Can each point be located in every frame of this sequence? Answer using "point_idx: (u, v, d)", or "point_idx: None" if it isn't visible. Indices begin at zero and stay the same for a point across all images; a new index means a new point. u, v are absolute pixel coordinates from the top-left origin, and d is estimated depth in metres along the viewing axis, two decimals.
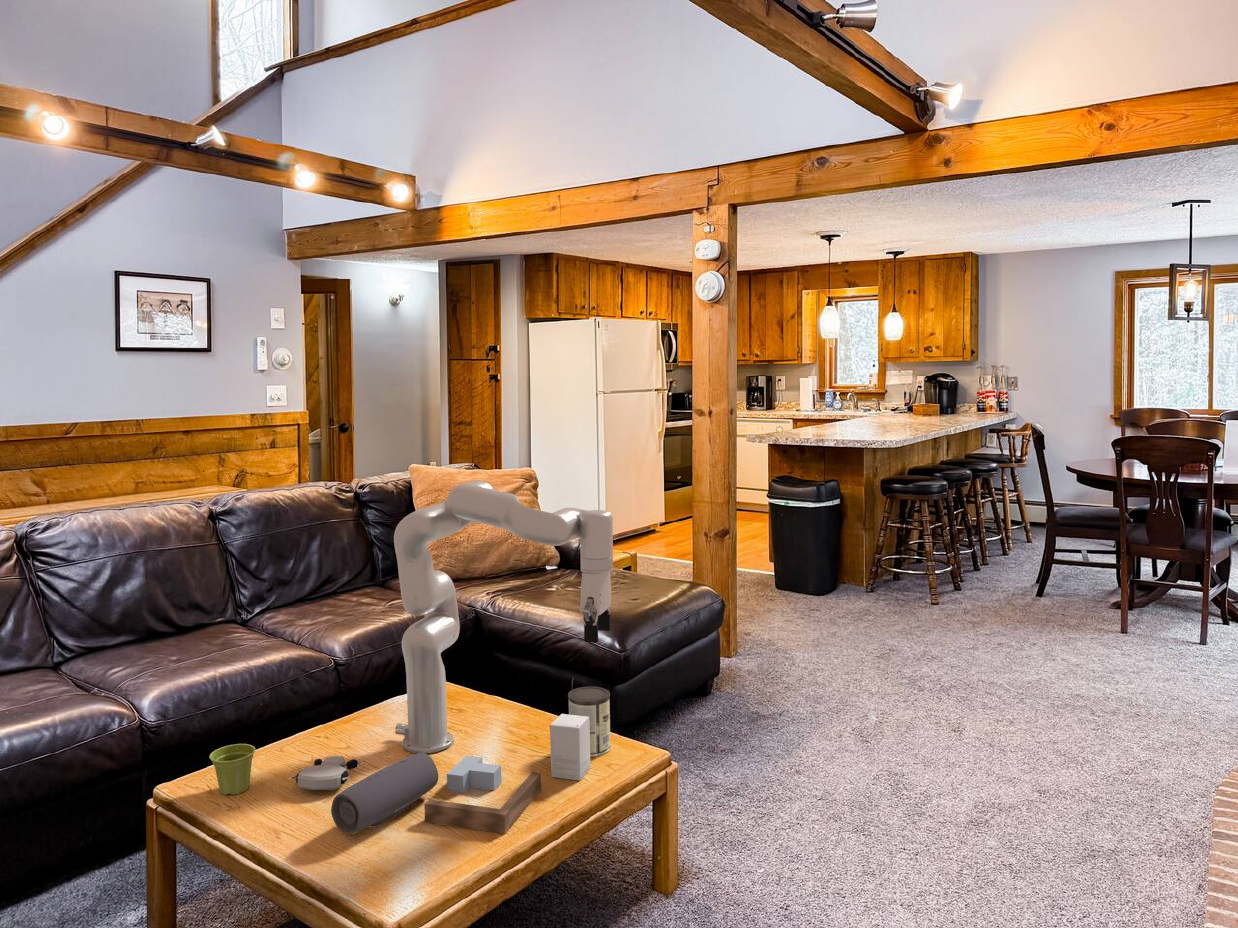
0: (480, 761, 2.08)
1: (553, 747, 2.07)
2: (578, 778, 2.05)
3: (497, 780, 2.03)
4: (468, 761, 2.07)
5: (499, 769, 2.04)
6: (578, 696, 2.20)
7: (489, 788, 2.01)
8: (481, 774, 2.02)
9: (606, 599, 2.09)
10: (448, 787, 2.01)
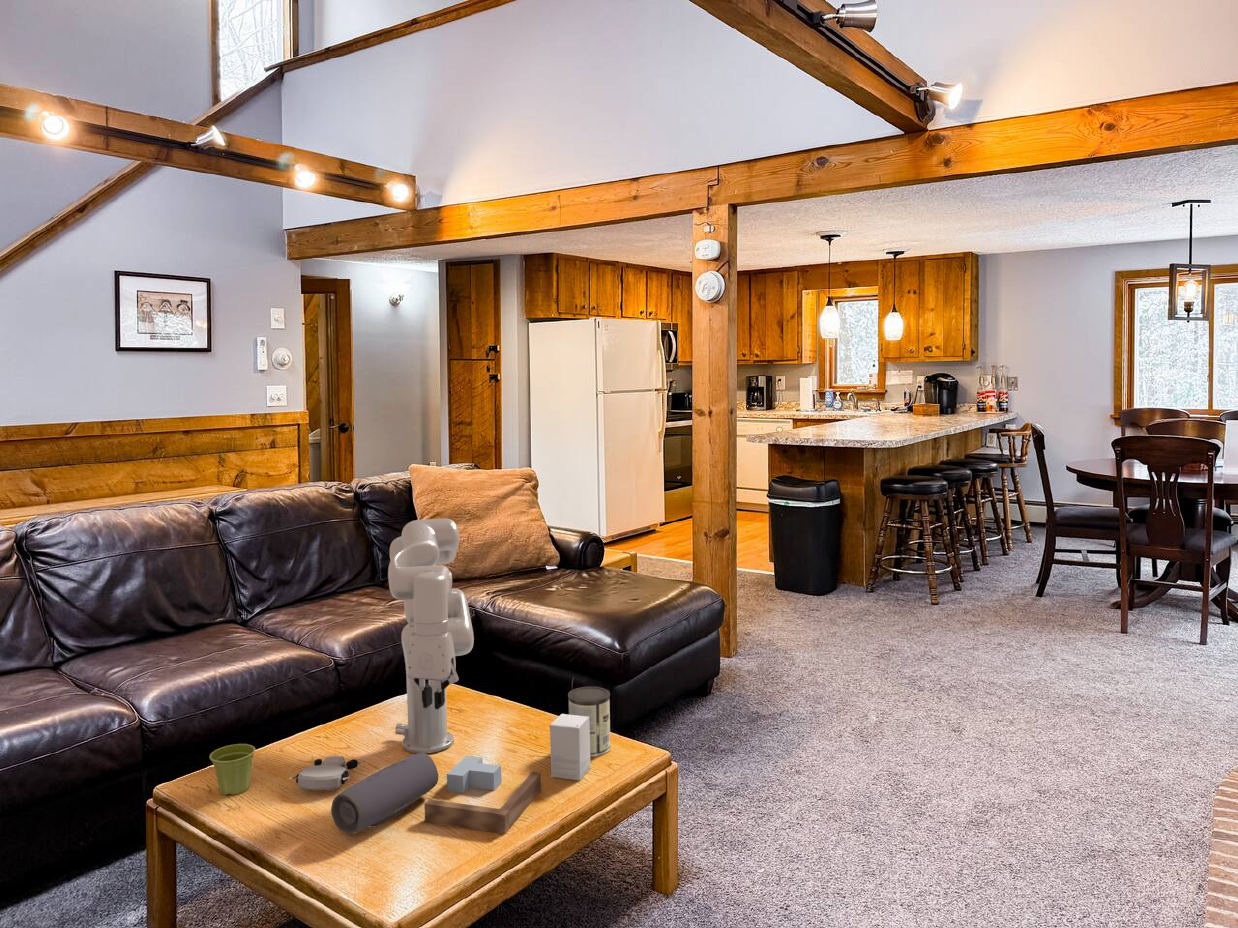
0: (480, 761, 2.08)
1: (553, 747, 2.07)
2: (578, 778, 2.05)
3: (497, 780, 2.03)
4: (468, 761, 2.07)
5: (499, 769, 2.04)
6: (578, 696, 2.20)
7: (489, 788, 2.01)
8: (481, 774, 2.02)
9: None
10: (448, 787, 2.01)
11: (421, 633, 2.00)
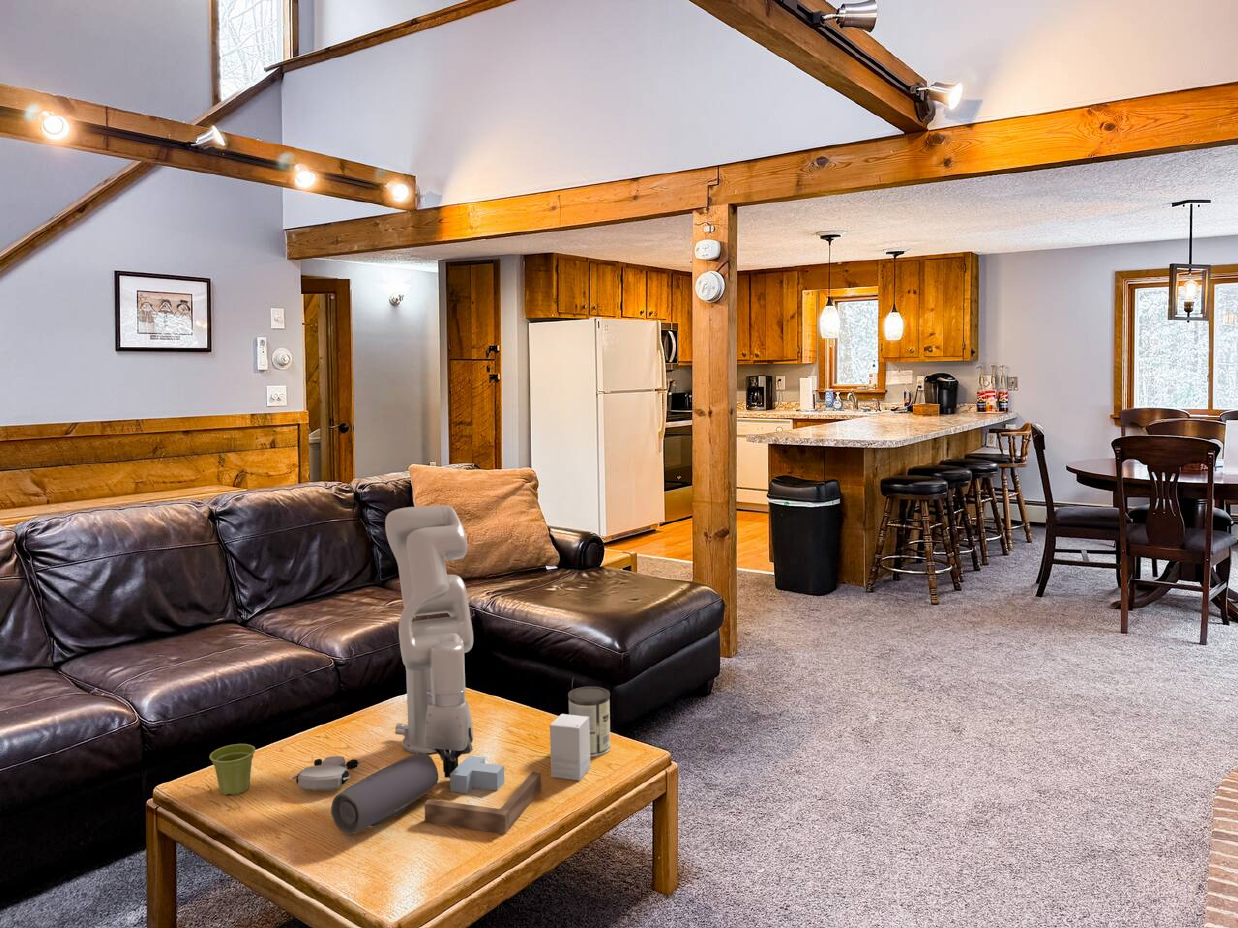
0: (482, 761, 2.08)
1: (553, 747, 2.07)
2: (578, 778, 2.05)
3: (500, 781, 2.03)
4: (470, 761, 2.07)
5: (502, 769, 2.04)
6: (578, 696, 2.20)
7: (492, 788, 2.01)
8: (484, 774, 2.02)
9: None
10: (451, 787, 2.01)
11: (438, 704, 2.01)
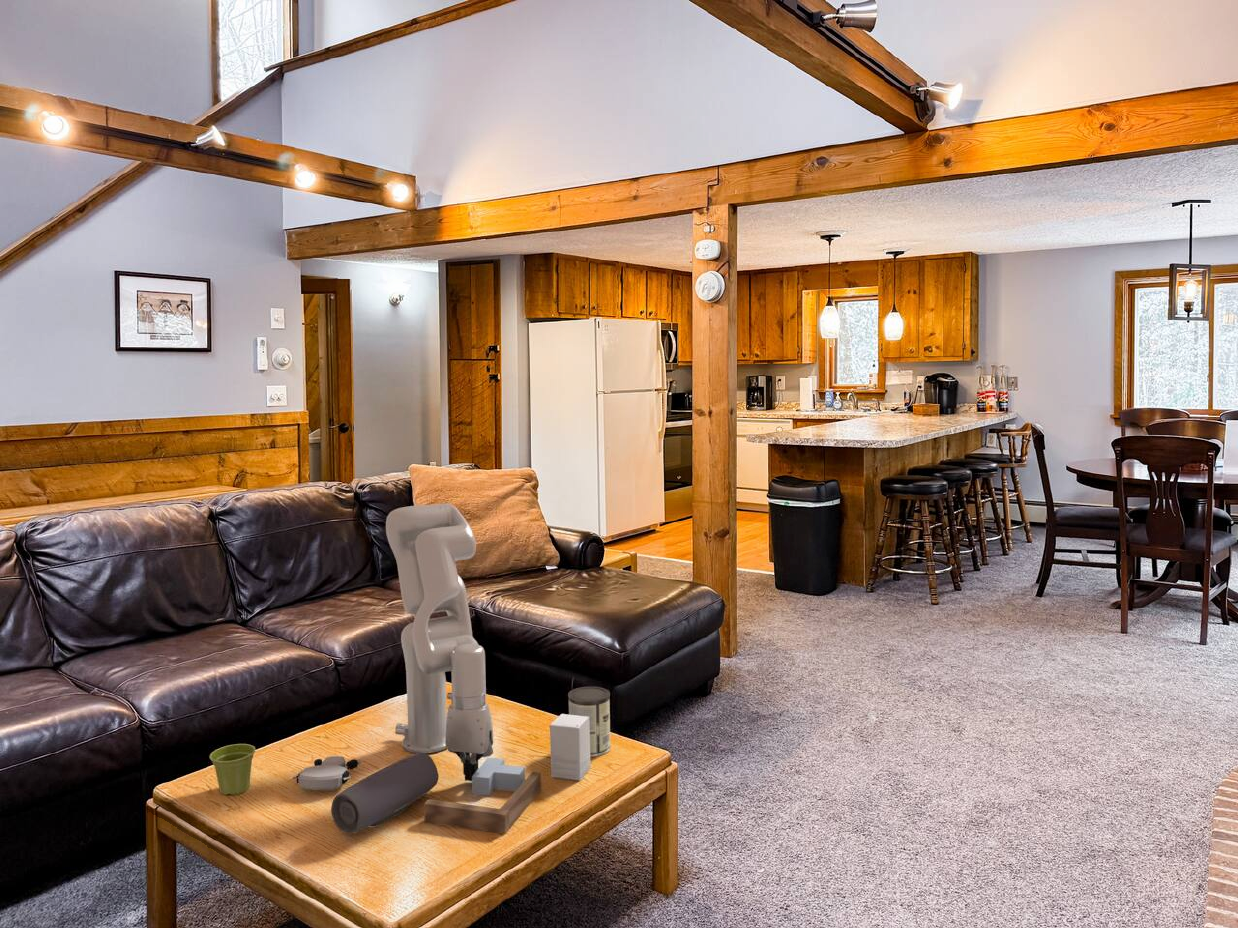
0: (502, 763, 2.07)
1: (553, 747, 2.07)
2: (578, 778, 2.05)
3: (522, 782, 2.02)
4: (490, 763, 2.05)
5: (524, 770, 2.03)
6: (578, 696, 2.20)
7: (514, 790, 2.01)
8: (506, 776, 2.01)
9: None
10: (473, 790, 1.99)
11: (459, 707, 2.00)
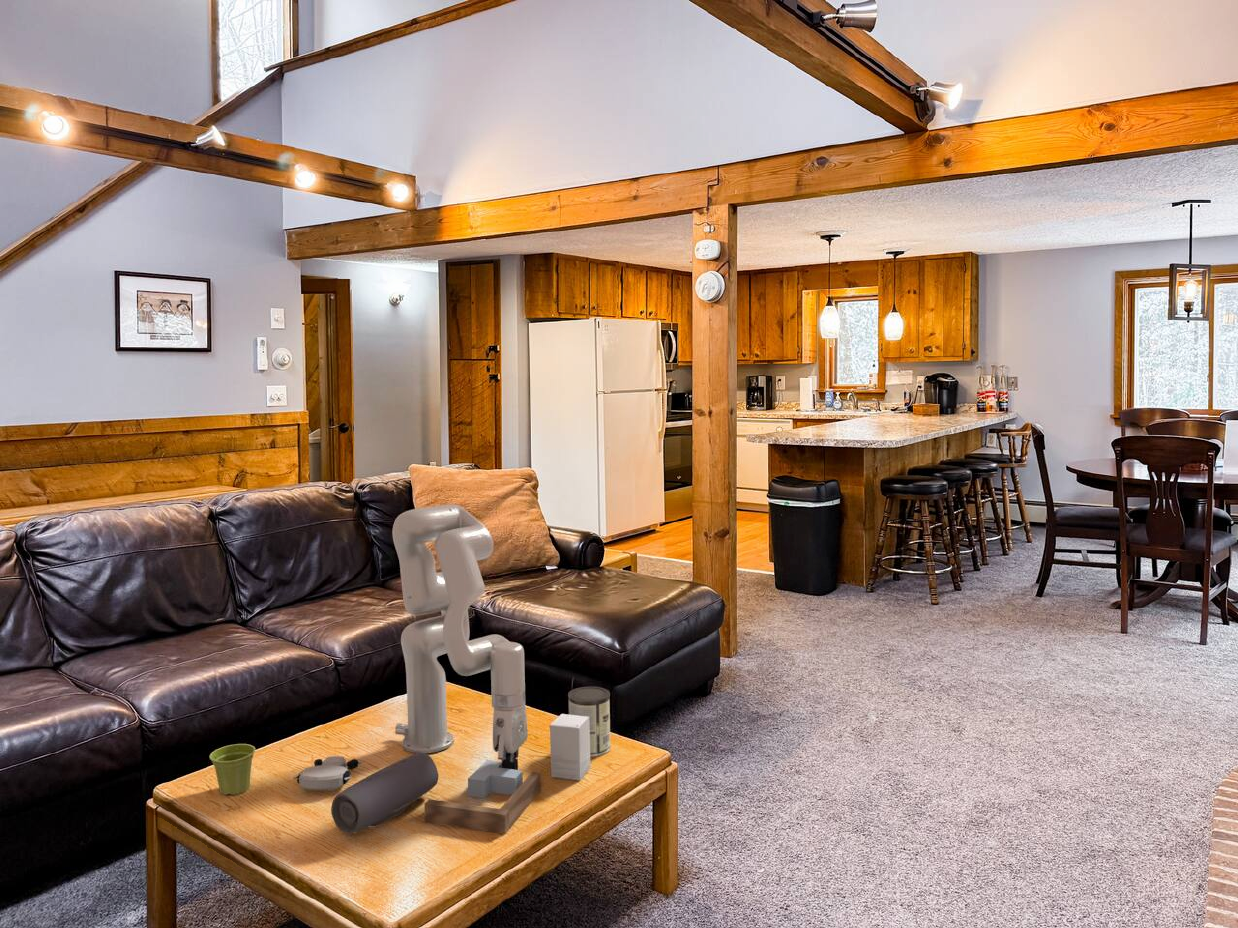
0: (501, 766, 2.06)
1: (553, 747, 2.07)
2: (578, 778, 2.05)
3: (518, 786, 2.00)
4: (489, 766, 2.04)
5: (520, 774, 2.01)
6: (578, 696, 2.20)
7: (510, 793, 1.99)
8: (502, 779, 1.99)
9: None
10: (469, 792, 1.98)
11: (523, 701, 2.02)
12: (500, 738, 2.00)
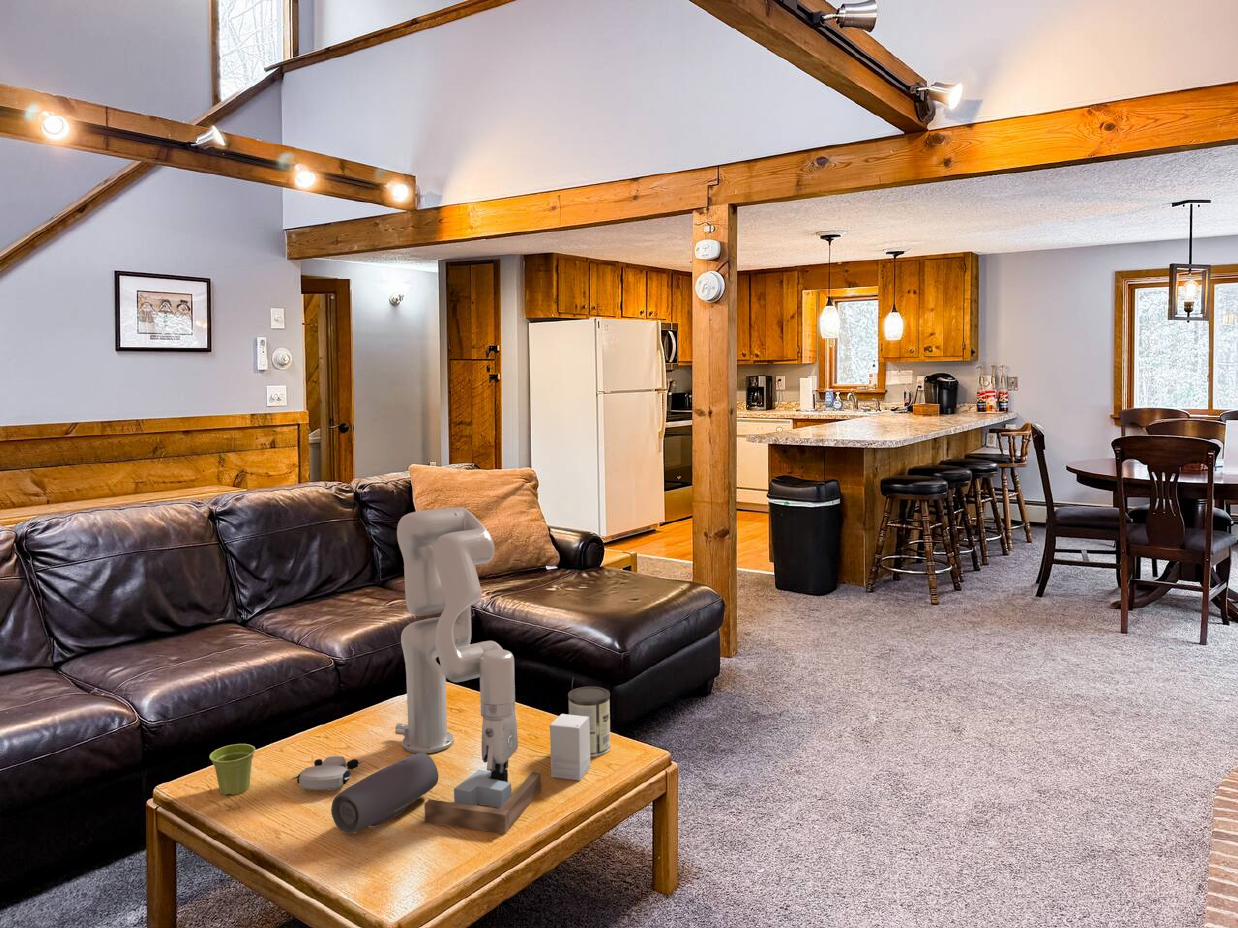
0: None
1: (553, 747, 2.07)
2: (578, 778, 2.05)
3: (506, 798, 1.94)
4: (478, 776, 1.99)
5: (509, 787, 1.95)
6: (578, 696, 2.20)
7: (497, 806, 1.93)
8: (489, 791, 1.94)
9: None
10: (455, 802, 1.94)
11: (512, 710, 1.97)
12: (489, 748, 1.95)
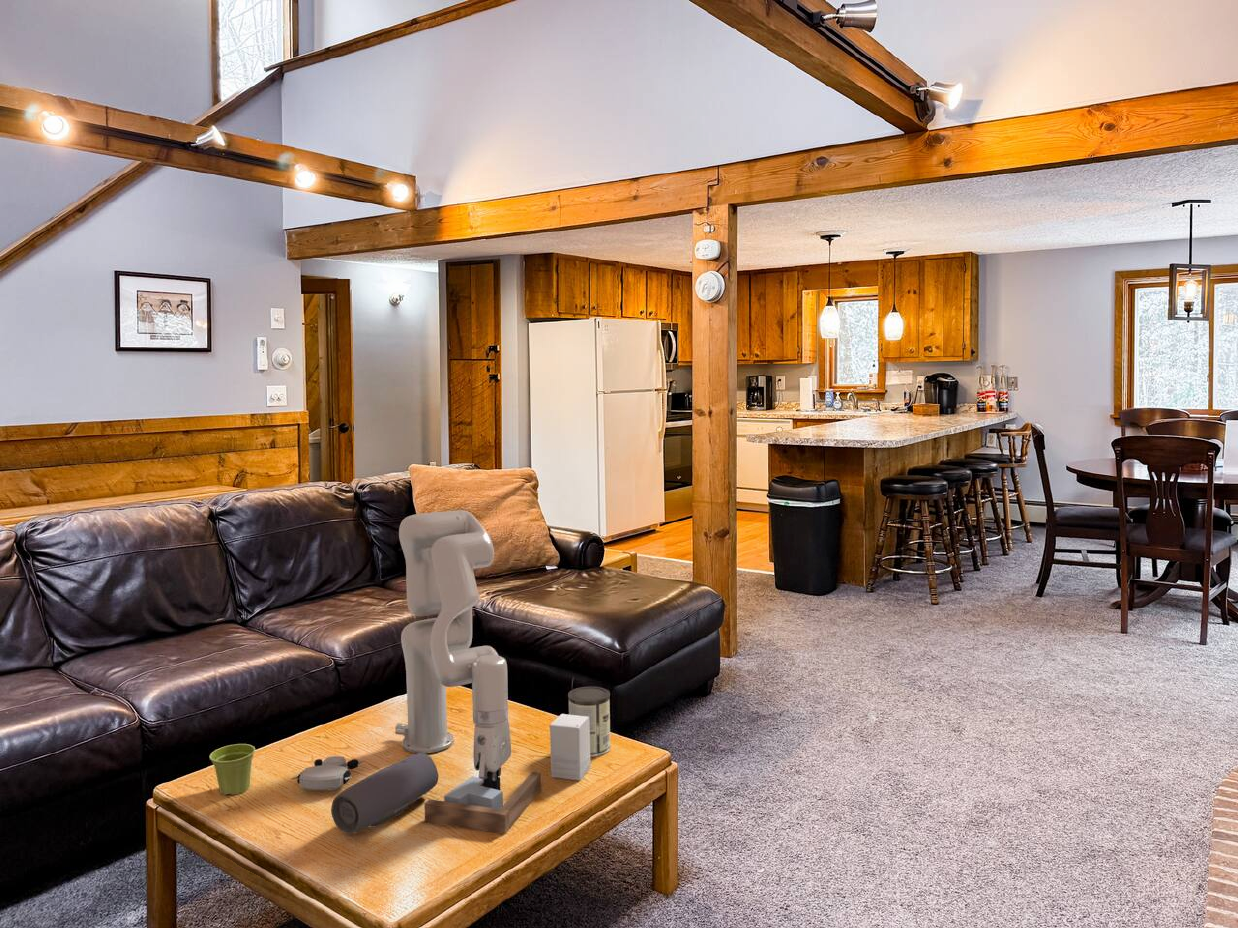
0: None
1: (553, 747, 2.07)
2: (578, 778, 2.05)
3: (496, 807, 1.90)
4: (471, 783, 1.96)
5: (500, 795, 1.91)
6: (578, 696, 2.20)
7: None
8: (479, 799, 1.90)
9: None
10: None
11: (505, 717, 1.93)
12: (481, 756, 1.91)
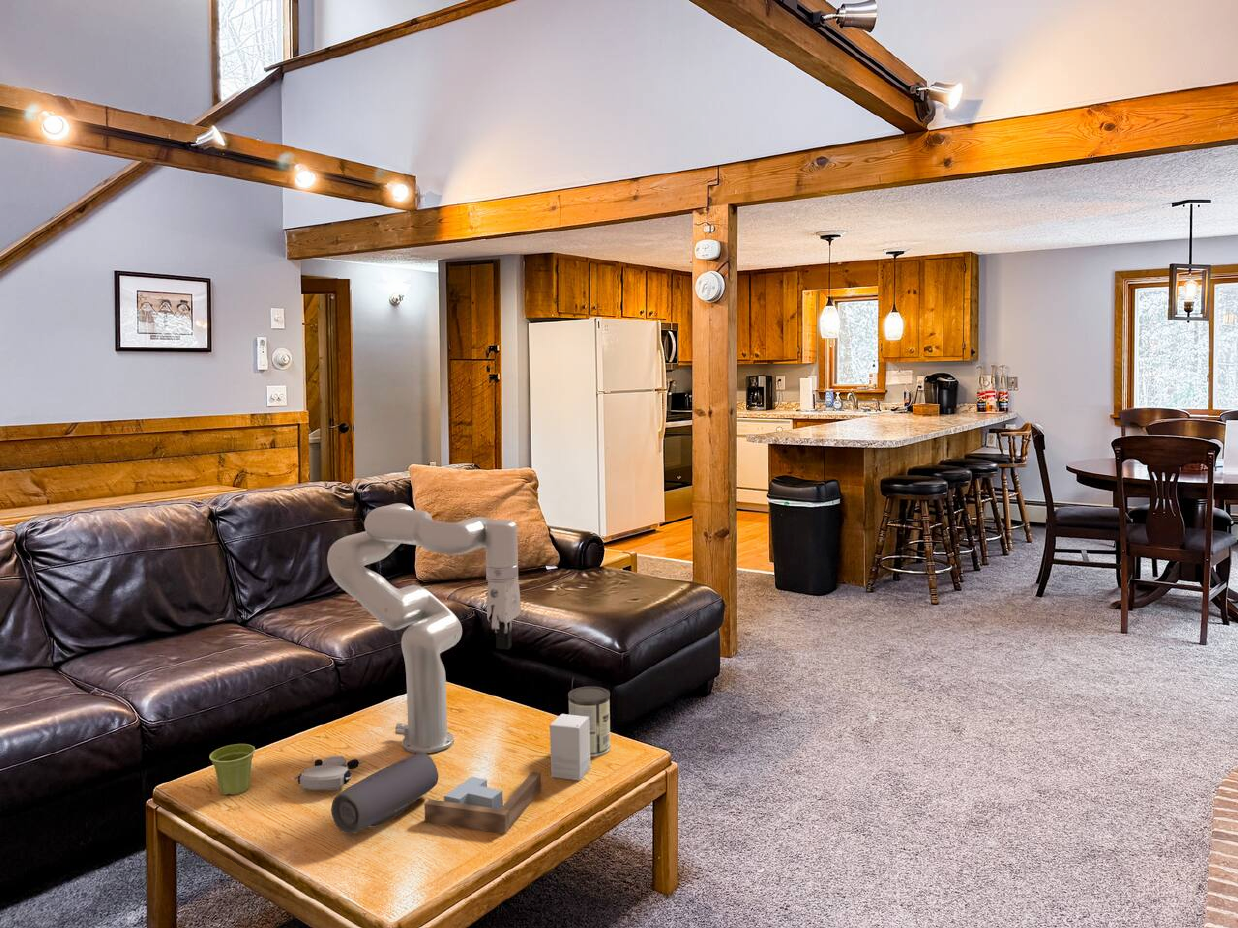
0: (484, 784, 1.97)
1: (553, 747, 2.07)
2: (578, 778, 2.05)
3: (496, 807, 1.90)
4: (470, 783, 1.96)
5: (500, 794, 1.91)
6: (578, 696, 2.20)
7: None
8: (479, 799, 1.90)
9: None
10: None
11: (516, 575, 2.13)
12: (494, 609, 2.11)
